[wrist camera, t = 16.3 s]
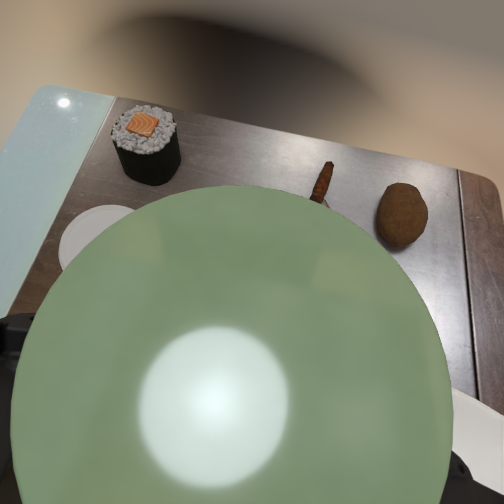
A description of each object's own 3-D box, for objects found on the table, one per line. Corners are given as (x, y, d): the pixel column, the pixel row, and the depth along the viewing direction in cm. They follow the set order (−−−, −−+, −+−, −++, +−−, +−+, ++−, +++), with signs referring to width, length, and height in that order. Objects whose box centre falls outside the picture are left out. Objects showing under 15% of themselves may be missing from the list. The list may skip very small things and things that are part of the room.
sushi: (115, 175, 53) (98, 136, 46) (141, 135, 56) (129, 93, 49) (165, 193, 52) (156, 156, 45) (189, 151, 56) (184, 111, 48)
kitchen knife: (315, 294, 47) (279, 279, 46) (310, 297, 48) (276, 282, 48) (356, 171, 55) (326, 157, 55) (351, 176, 56) (322, 163, 56)
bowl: (325, 355, 44) (347, 342, 36) (492, 426, 42) (553, 428, 34) (264, 555, 35) (276, 592, 28) (470, 656, 33) (546, 728, 26)
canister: (138, 463, 15) (-104, 583, 4) (182, 321, 17) (116, 150, 6) (282, 499, 14) (465, 735, 4) (305, 351, 17) (451, 227, 6)
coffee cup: (156, 328, 44) (135, 297, 33) (82, 310, 44) (37, 274, 33) (179, 260, 48) (167, 213, 37) (111, 244, 48) (80, 193, 37)
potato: (412, 199, 55) (434, 174, 49) (419, 257, 51) (443, 236, 45) (370, 194, 55) (387, 168, 49) (373, 251, 51) (392, 230, 45)
